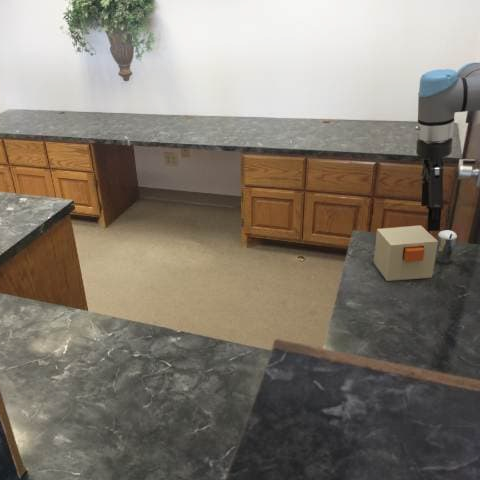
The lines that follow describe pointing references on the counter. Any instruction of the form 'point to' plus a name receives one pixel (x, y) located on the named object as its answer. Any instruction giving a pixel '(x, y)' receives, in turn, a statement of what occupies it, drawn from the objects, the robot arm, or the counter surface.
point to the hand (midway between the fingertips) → (430, 217)
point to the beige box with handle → (392, 251)
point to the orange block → (413, 254)
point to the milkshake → (445, 245)
